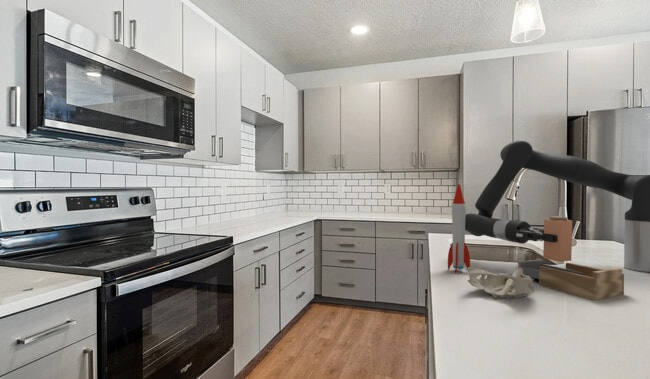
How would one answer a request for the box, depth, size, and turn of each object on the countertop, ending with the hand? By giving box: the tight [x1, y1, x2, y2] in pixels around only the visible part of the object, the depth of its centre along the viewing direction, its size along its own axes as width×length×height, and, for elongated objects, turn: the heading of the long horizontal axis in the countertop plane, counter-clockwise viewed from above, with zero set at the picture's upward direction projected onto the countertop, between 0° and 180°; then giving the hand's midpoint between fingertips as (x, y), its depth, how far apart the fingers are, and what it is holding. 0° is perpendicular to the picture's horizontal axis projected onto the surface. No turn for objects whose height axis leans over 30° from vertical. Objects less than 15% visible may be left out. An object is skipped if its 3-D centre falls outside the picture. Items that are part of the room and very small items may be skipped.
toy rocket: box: [447, 183, 471, 274], centre depth 115 cm, size 6×6×30 cm
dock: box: [538, 262, 625, 301], centre depth 95 cm, size 13×14×7 cm
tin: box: [542, 215, 573, 263], centre depth 100 cm, size 5×5×13 cm
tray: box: [517, 258, 582, 280], centre depth 103 cm, size 10×13×4 cm
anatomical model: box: [466, 265, 536, 299], centre depth 91 cm, size 15×9×25 cm
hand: (562, 238), depth 99 cm, fingers closed on tin, 5 cm apart
